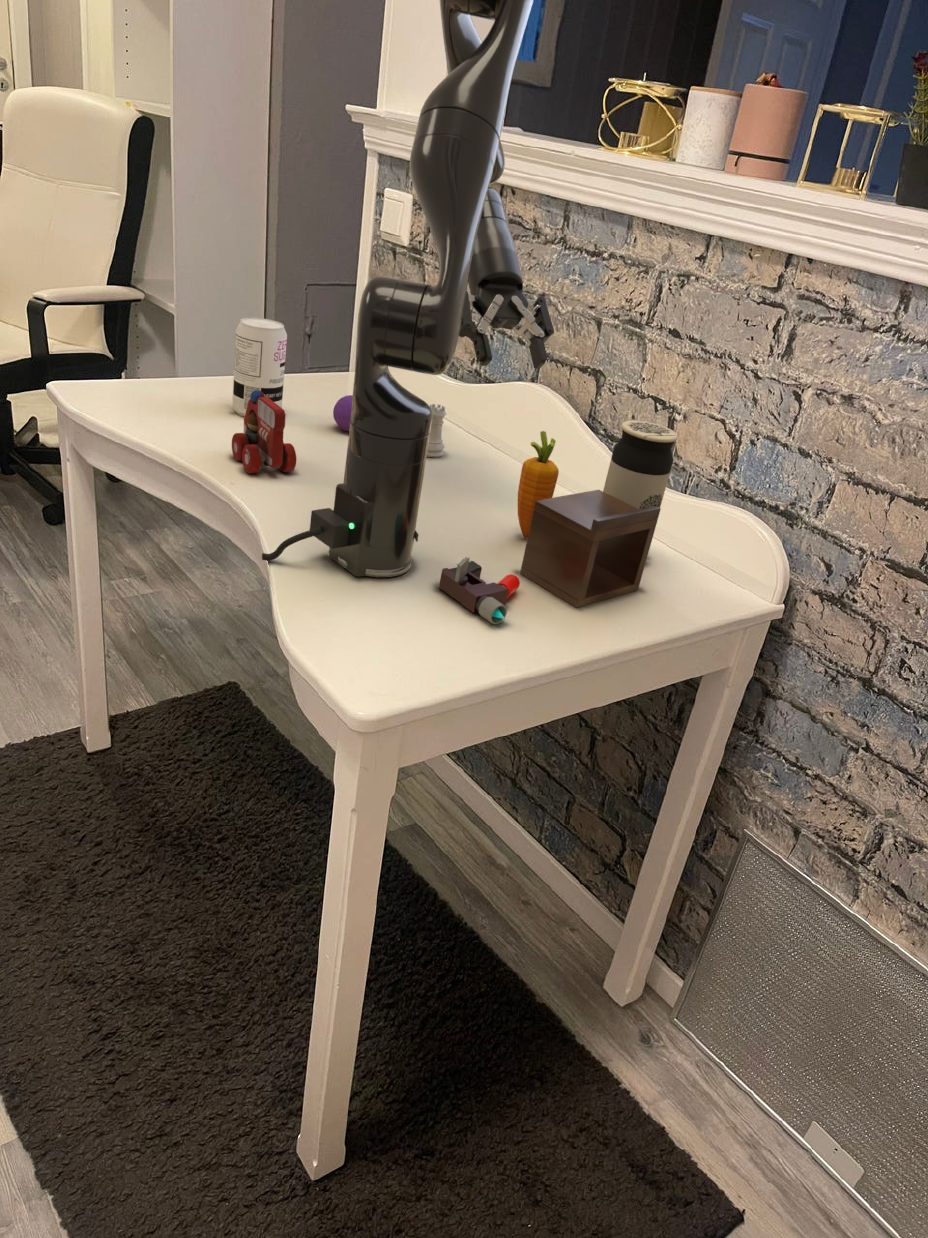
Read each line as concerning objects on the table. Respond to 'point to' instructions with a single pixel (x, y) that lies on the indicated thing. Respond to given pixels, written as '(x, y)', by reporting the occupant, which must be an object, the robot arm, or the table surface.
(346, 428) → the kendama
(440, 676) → the table surface
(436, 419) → the rook chess piece
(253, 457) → the toy fire truck
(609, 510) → the shelf
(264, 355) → the supplement can
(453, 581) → the toy gun
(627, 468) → the travel mug
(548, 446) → the carrot
